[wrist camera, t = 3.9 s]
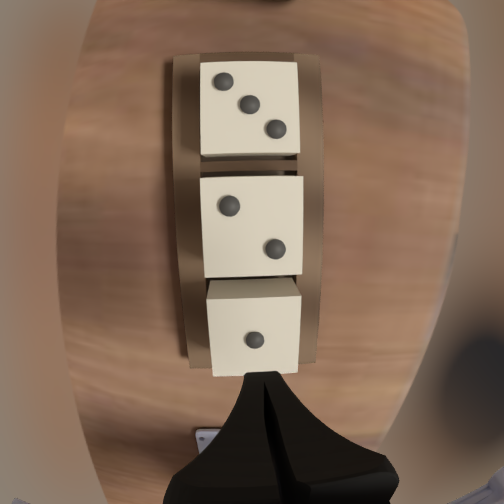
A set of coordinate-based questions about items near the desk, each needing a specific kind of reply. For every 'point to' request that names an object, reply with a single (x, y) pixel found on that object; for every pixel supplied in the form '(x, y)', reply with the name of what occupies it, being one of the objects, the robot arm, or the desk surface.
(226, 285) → the tile one
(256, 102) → the tile three
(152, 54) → the desk surface
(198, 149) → the tile tray
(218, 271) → the tile two
